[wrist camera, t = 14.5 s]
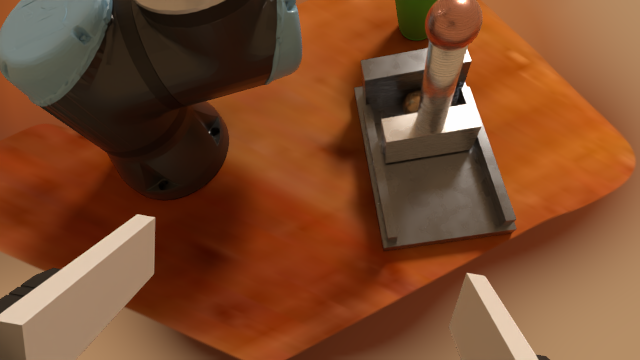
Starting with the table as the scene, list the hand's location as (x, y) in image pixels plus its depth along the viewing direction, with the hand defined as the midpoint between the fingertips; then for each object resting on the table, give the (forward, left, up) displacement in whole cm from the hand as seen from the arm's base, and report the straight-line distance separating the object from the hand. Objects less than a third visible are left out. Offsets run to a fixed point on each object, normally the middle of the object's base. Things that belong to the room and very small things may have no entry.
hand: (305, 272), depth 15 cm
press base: (-4, +21, -26) cm, 34 cm away
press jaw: (-4, +21, -24) cm, 32 cm away
